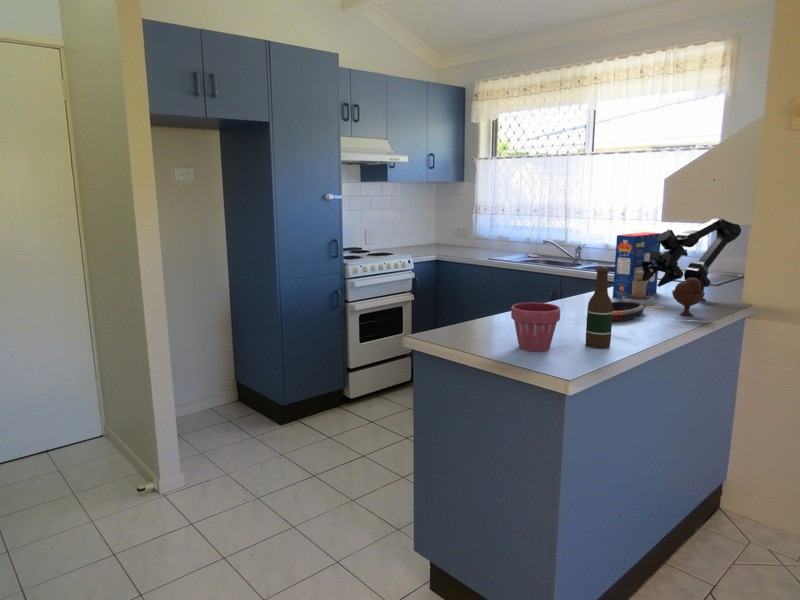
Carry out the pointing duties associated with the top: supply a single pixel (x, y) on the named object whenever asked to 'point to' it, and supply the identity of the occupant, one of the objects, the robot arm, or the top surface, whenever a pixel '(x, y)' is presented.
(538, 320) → the plant pot
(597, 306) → the beer bottle
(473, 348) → the top surface
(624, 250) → the pasta box
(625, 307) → the dish
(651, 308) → the coaster
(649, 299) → the slate dish
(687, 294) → the ice cream bowl
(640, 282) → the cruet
